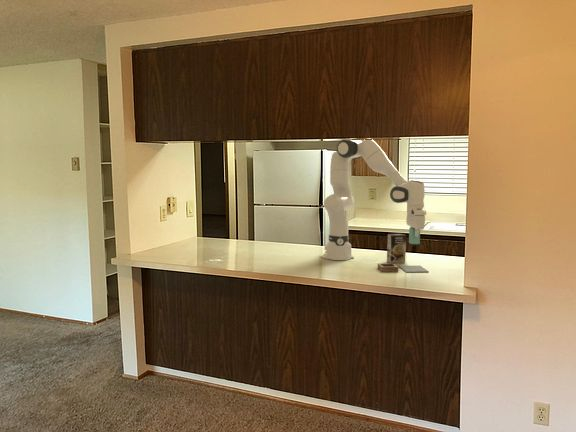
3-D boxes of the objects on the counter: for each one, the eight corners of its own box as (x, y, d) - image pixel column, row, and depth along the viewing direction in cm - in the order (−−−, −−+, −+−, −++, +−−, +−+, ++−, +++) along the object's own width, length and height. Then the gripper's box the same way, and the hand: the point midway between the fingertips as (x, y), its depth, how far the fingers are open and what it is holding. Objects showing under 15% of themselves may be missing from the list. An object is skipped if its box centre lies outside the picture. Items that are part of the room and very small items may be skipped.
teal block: (408, 242, 266) (409, 227, 265) (417, 242, 266) (417, 227, 265) (411, 244, 261) (411, 229, 260) (419, 243, 261) (420, 229, 260)
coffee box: (390, 263, 281) (391, 235, 279) (386, 260, 287) (387, 233, 285) (405, 262, 283) (406, 235, 281) (401, 260, 289) (401, 233, 287)
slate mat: (398, 266, 272) (398, 265, 272) (420, 266, 273) (420, 265, 272) (406, 272, 258) (406, 271, 258) (428, 272, 259) (428, 271, 259)
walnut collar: (377, 268, 269) (377, 263, 268) (393, 267, 269) (393, 263, 269) (381, 271, 260) (381, 267, 260) (398, 271, 260) (398, 267, 260)
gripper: (403, 208, 271) (403, 232, 273) (415, 212, 251) (414, 238, 253) (415, 208, 272) (414, 232, 273) (427, 212, 252) (426, 238, 253)
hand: (414, 235), depth 263 cm, fingers closed on teal block, 4 cm apart
